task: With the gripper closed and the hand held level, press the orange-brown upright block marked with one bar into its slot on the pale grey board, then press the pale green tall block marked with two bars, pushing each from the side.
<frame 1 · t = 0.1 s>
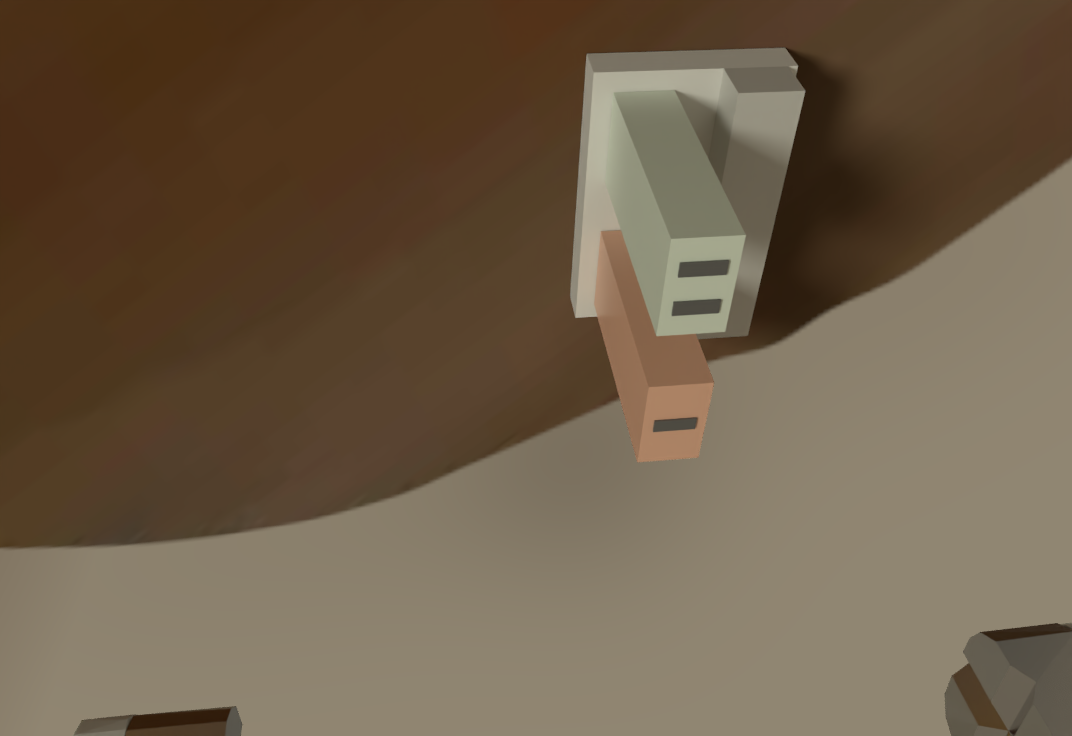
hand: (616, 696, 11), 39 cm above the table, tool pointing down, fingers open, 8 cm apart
orange-brown upright block 1: (649, 339, 49), point 8 cm above the table, slide at 0.0 cm
pale green tall block 2: (668, 206, 44), point 8 cm above the table, slide at 0.0 cm
tile board: (668, 182, 53), on the table
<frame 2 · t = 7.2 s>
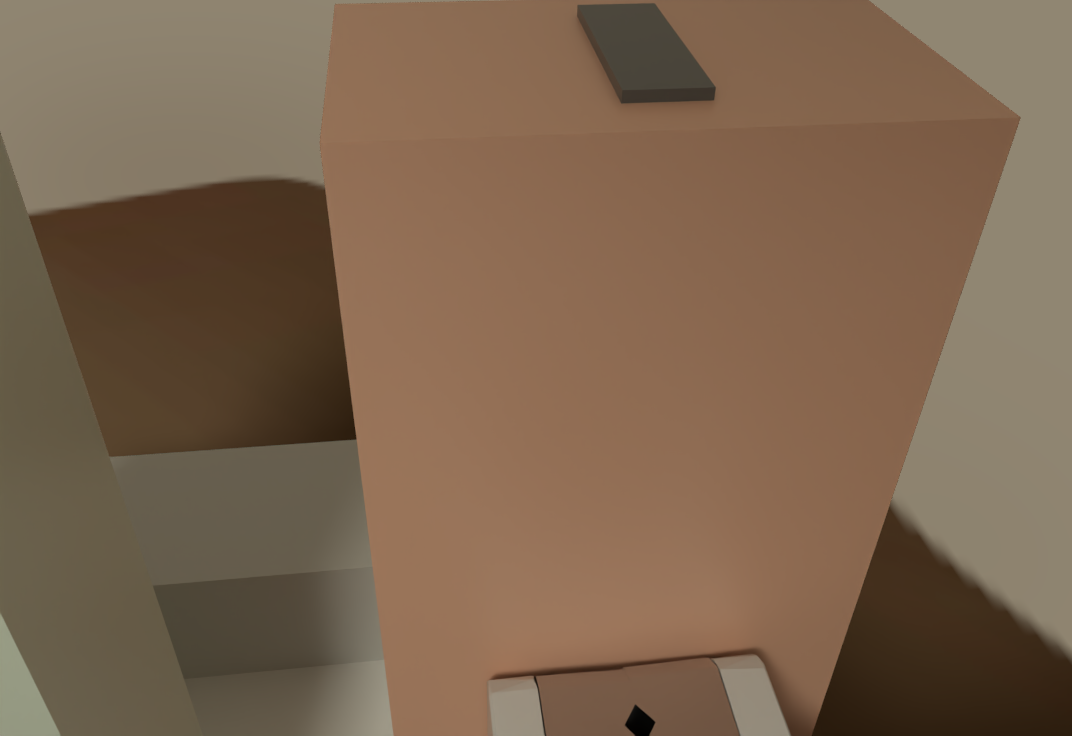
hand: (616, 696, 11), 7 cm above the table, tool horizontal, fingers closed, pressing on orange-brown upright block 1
orange-brown upright block 1: (596, 543, 12), point 8 cm above the table, slide at 0.5 cm, touching gripper
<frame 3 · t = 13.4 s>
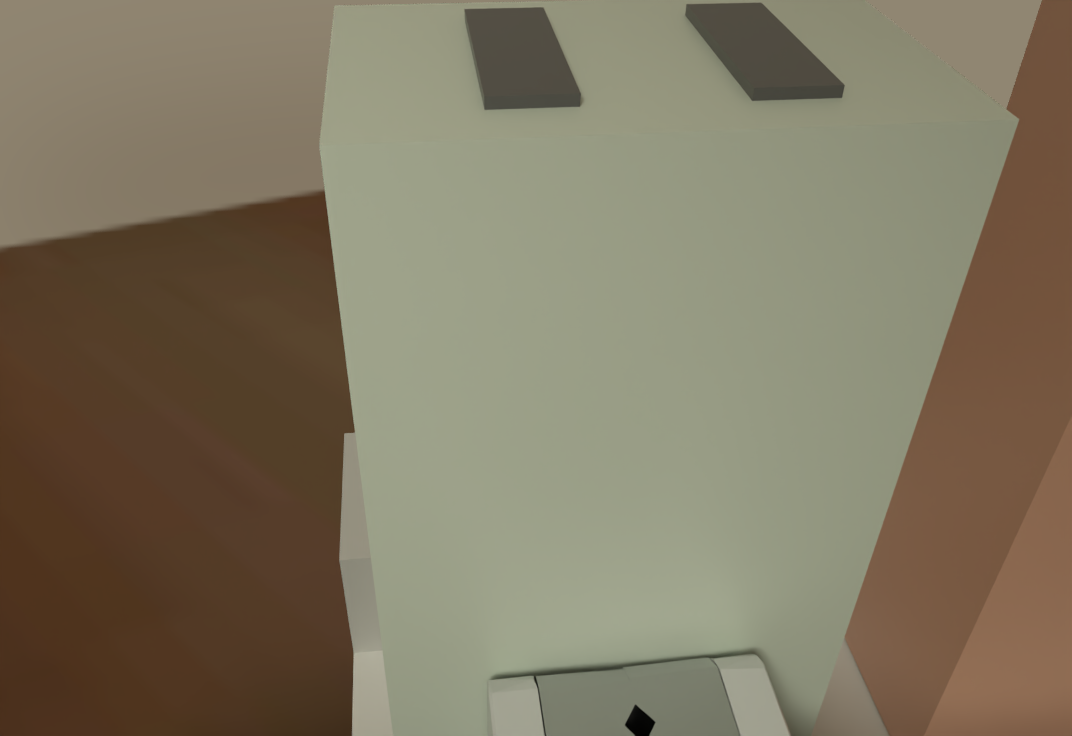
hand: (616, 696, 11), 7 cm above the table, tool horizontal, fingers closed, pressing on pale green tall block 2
pale green tall block 2: (595, 544, 12), point 8 cm above the table, slide at 0.3 cm, touching gripper
tile board: (757, 735, 19), on the table
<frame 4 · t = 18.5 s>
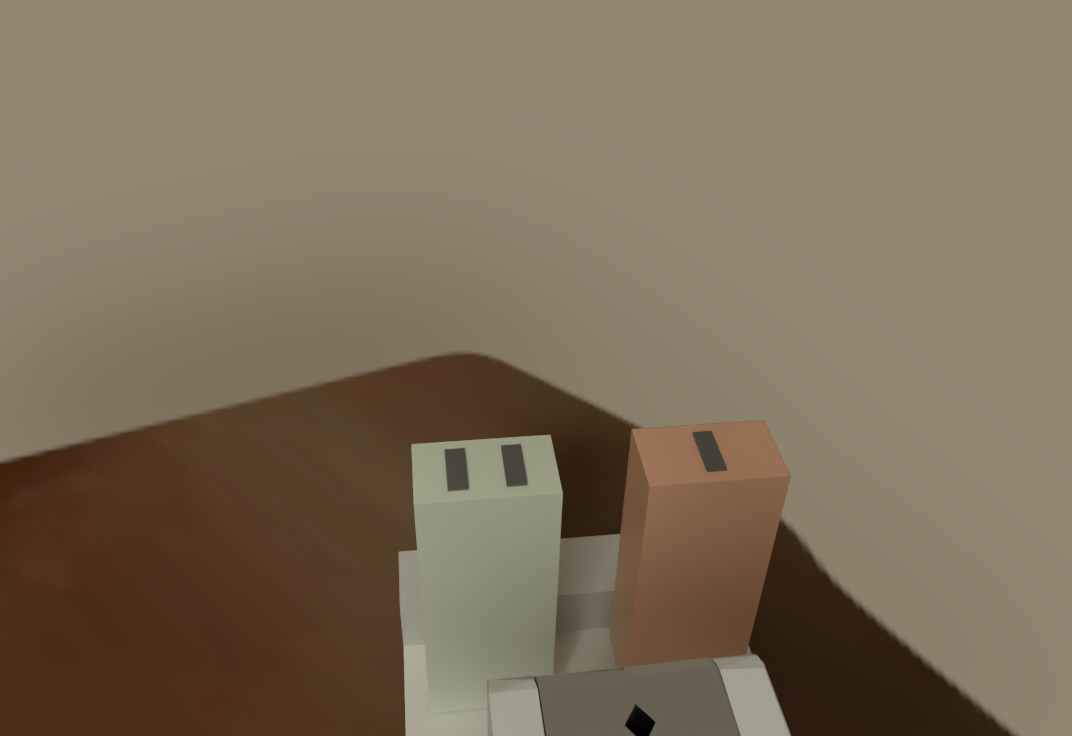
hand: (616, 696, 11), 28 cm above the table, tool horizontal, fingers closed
orange-brown upright block 1: (688, 561, 38), point 8 cm above the table, slide at 1.8 cm
pale green tall block 2: (486, 579, 37), point 8 cm above the table, slide at 1.8 cm
tile board: (576, 682, 43), on the table
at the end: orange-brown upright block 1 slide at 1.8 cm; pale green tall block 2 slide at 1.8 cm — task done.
